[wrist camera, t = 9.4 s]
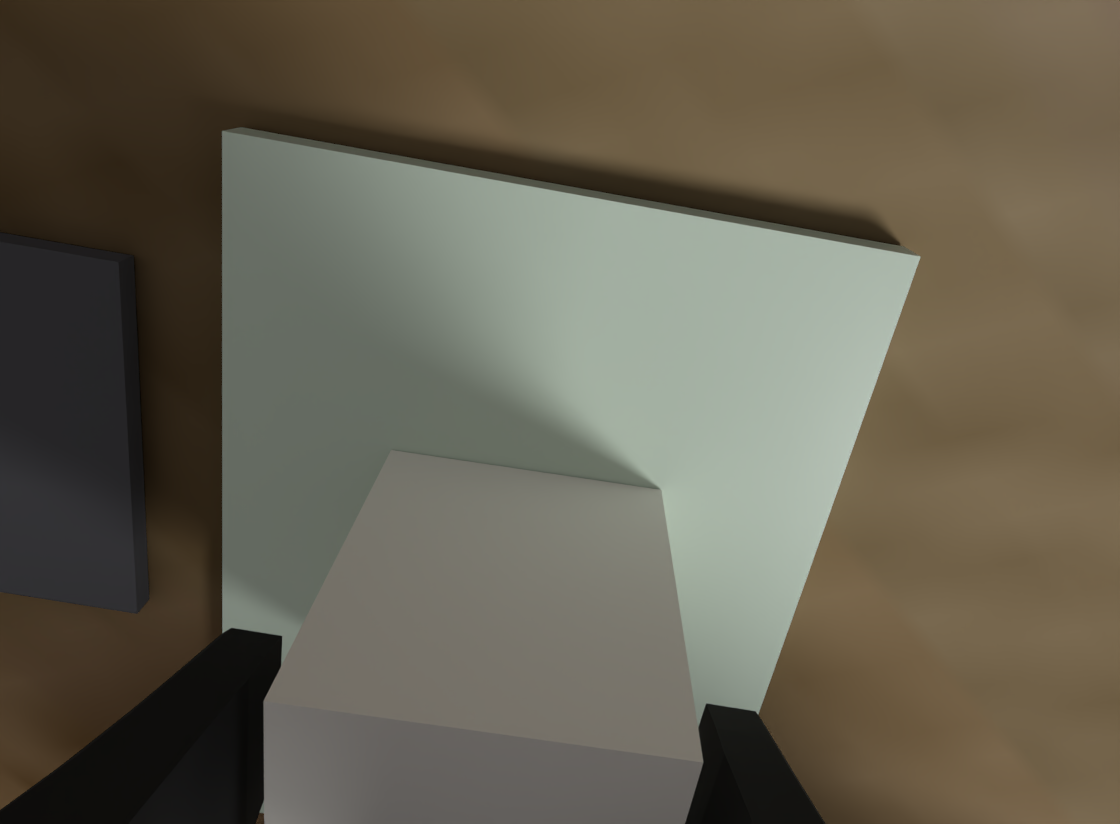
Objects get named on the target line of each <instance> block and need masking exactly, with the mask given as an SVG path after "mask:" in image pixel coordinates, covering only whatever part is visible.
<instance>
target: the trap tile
mask: <svg viewBox="0 0 1120 824" xmlns="http://www.w3.org/2000/svg"><path fill="white" fill-rule="evenodd" d="M0 592H4V593H10V594H16V595H23V596H29V597H35V598H42V599H48V600H54V601H60V602H67V603H73V604H79V605H86V606H92V607H98V608H104V609H111V610H117V611H123V612H130V613H136V614H137V613H138V612H139V611H140V610H141V609H142V607H143V606H144V605H145V604H146V602H147V601H148V600H149V581H148V559H147V537H146V515H145V493H144V471H143V449H142V427H141V405H140V383H139V361H138V339H137V318H136V296H135V274H134V256H133V255H127V254H121V253H116V252H110V251H104V250H98V249H93V248H87V247H81V246H75V245H70V244H64V243H58V242H52V241H47V240H41V239H35V238H29V237H24V236H18V235H12V234H6V233H1V232H0Z"/></svg>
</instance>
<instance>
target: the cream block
mask: <svg viewBox="0 0 1120 824" xmlns="http://www.w3.org/2000/svg"><path fill="white" fill-rule="evenodd" d="M263 704H264V824H685V822H686V819H687V815H688V812H689V809H690V805H691V802H692V799H693V795H694V792H695V789H696V785H697V782H698V779H699V775H700V772H701V769H702V765H703V757H702V750H701V744H700V737H699V731H698V724H697V718H696V711H695V705H694V698H693V692H692V685H691V679H690V672H689V666H688V659H687V653H686V646H685V640H684V634H683V627H682V621H681V614H680V608H679V601H678V595H677V588H676V582H675V575H674V569H673V562H672V556H671V549H670V543H669V536H668V530H667V523H666V517H665V510H664V504H663V497H662V491H661V490H659V489H652V488H645V487H639V486H632V485H625V484H618V483H612V482H605V481H598V480H591V479H585V478H578V477H571V476H564V475H558V474H551V473H544V472H537V471H530V470H524V469H517V468H510V467H503V466H497V465H490V464H483V463H476V462H470V461H463V460H456V459H449V458H442V457H436V456H429V455H422V454H415V453H409V452H402V451H395V450H391V451H390V453H389V455H388V457H387V459H386V461H385V463H384V465H383V467H382V469H381V471H380V473H379V475H378V477H377V479H376V481H375V483H374V485H373V487H372V489H371V490H370V492H369V494H368V496H367V498H366V500H365V502H364V504H363V506H362V508H361V510H360V512H359V514H358V516H357V518H356V520H355V522H354V524H353V526H352V528H351V530H350V532H349V534H348V536H347V538H346V540H345V542H344V544H343V546H342V548H341V550H340V552H339V553H338V555H337V557H336V559H335V561H334V563H333V565H332V567H331V569H330V571H329V573H328V575H327V577H326V579H325V581H324V583H323V585H322V587H321V589H320V591H319V593H318V595H317V597H316V599H315V601H314V603H313V605H312V607H311V609H310V611H309V613H308V614H307V616H306V618H305V620H304V622H303V624H302V626H301V628H300V630H299V632H298V634H297V636H296V638H295V640H294V642H293V644H292V646H291V648H290V650H289V652H288V654H287V656H286V658H285V660H284V662H283V664H282V666H281V668H280V670H279V672H278V674H277V676H276V677H275V679H274V681H273V683H272V685H271V687H270V689H269V691H268V693H267V695H266V697H265V699H264V701H263Z"/></svg>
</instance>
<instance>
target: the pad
mask: <svg viewBox="0 0 1120 824" xmlns="http://www.w3.org/2000/svg"><path fill="white" fill-rule="evenodd" d="M919 260H920V256H919V255H917V254H916V253H914V252H912V251H911V250H909V249H907V248H906V247H904V246H898V245H893V244H887V243H881V242H876V241H870V240H865V239H859V238H854V237H848V236H843V235H837V234H832V233H826V232H820V231H815V230H809V229H804V228H798V227H793V226H787V225H782V224H776V223H770V222H765V221H759V220H754V219H748V218H743V217H737V216H732V215H726V214H721V213H715V212H709V211H704V210H698V209H693V208H687V207H682V206H676V205H671V204H665V203H660V202H654V201H648V200H643V199H637V198H632V197H626V196H621V195H615V194H610V193H604V192H598V191H593V190H587V189H582V188H576V187H571V186H565V185H560V184H554V183H549V182H543V181H537V180H532V179H526V178H521V177H515V176H510V175H504V174H499V173H493V172H487V171H482V170H476V169H471V168H465V167H460V166H454V165H449V164H443V163H438V162H432V161H426V160H421V159H415V158H410V157H404V156H399V155H393V154H388V153H382V152H376V151H371V150H365V149H360V148H354V147H349V146H343V145H338V144H332V143H327V142H321V141H315V140H310V139H304V138H299V137H293V136H288V135H282V134H277V133H271V132H265V131H260V130H254V129H249V128H243V127H239V128H234V129H229V130H224V131H222V633H224V632H225V631H227V630H229V629H230V628H236V629H242V630H249V631H255V632H261V633H267V634H274V635H280V636H282V656H281V666H282V664H283V662H284V660H285V658H286V656H287V654H288V652H289V650H290V648H291V646H292V644H293V642H294V640H295V638H296V636H297V634H298V632H299V630H300V628H301V626H302V624H303V622H304V620H305V618H306V616H307V614H308V613H309V611H310V609H311V607H312V605H313V603H314V601H315V599H316V597H317V595H318V593H319V591H320V589H321V587H322V585H323V583H324V581H325V579H326V577H327V575H328V573H329V571H330V569H331V567H332V565H333V563H334V561H335V559H336V557H337V555H338V553H339V552H340V550H341V548H342V546H343V544H344V542H345V540H346V538H347V536H348V534H349V532H350V530H351V528H352V526H353V524H354V522H355V520H356V518H357V516H358V514H359V512H360V510H361V508H362V506H363V504H364V502H365V500H366V498H367V496H368V494H369V492H370V490H371V489H372V487H373V485H374V483H375V481H376V479H377V477H378V475H379V473H380V471H381V469H382V467H383V465H384V463H385V461H386V459H387V457H388V455H389V453H390V451H391V450H395V451H402V452H409V453H415V454H422V455H429V456H436V457H442V458H449V459H456V460H463V461H470V462H476V463H483V464H490V465H497V466H503V467H510V468H517V469H524V470H530V471H537V472H544V473H551V474H558V475H564V476H571V477H578V478H585V479H591V480H598V481H605V482H612V483H618V484H625V485H632V486H639V487H645V488H652V489H659V490H661V491H662V497H663V504H664V510H665V517H666V523H667V530H668V536H669V543H670V549H671V556H672V562H673V569H674V575H675V582H676V588H677V595H678V601H679V608H680V614H681V621H682V627H683V634H684V640H685V646H686V653H687V659H688V666H689V672H690V679H691V685H692V692H693V698H694V705H695V711H696V718H697V724H698V727H699V724H700V721H701V718H702V714H703V711H704V708H705V705H706V703H707V704H713V705H720V706H726V707H732V708H739V709H745V710H751V711H756V713H757V714H759V711H760V708H761V705H762V702H763V700H764V697H765V694H766V691H767V688H768V686H769V683H770V680H771V677H772V674H773V671H774V669H775V666H776V663H777V660H778V657H779V655H780V652H781V649H782V646H783V643H784V640H785V638H786V635H787V632H788V629H789V626H790V624H791V621H792V618H793V615H794V612H795V609H796V607H797V604H798V601H799V598H800V595H801V592H802V590H803V587H804V584H805V581H806V578H807V576H808V573H809V570H810V567H811V564H812V561H813V559H814V556H815V553H816V550H817V547H818V545H819V542H820V539H821V536H822V533H823V530H824V528H825V525H826V522H827V519H828V516H829V514H830V511H831V508H832V505H833V502H834V499H835V497H836V494H837V491H838V488H839V485H840V482H841V480H842V477H843V474H844V471H845V468H846V466H847V463H848V460H849V457H850V454H851V451H852V449H853V446H854V443H855V440H856V437H857V435H858V432H859V429H860V426H861V423H862V420H863V418H864V415H865V412H866V409H867V406H868V403H869V401H870V398H871V395H872V392H873V389H874V387H875V384H876V381H877V378H878V375H879V372H880V370H881V367H882V364H883V361H884V358H885V356H886V353H887V350H888V347H889V344H890V341H891V339H892V336H893V333H894V330H895V327H896V325H897V322H898V319H899V316H900V313H901V310H902V308H903V305H904V302H905V299H906V296H907V293H908V291H909V288H910V285H911V282H912V279H913V277H914V274H915V271H916V268H917V265H918V262H919ZM260 813H264V801H263V804H262V807H261V810H260Z"/></svg>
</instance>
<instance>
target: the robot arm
mask: <svg viewBox="0 0 1120 824" xmlns="http://www.w3.org/2000/svg"><path fill="white" fill-rule="evenodd" d="M281 656H282V636H280V635H274V634H267V633H261V632H255V631H249V630H242V629H236V628H230V629H229V630H227V631H225V632H224V633H222V634H221V635H220V636H219V637H217V638H216V639H215V640H214V641H213V642H212V643H210V644H209V645H208V646H207V647H206V648H205V649H203V650H202V651H201V652H200V653H199V654H198V655H196V656H195V657H194V658H193V659H192V660H191V661H189V662H188V663H187V664H186V665H185V666H183V667H182V668H181V669H180V670H179V671H178V672H176V673H175V674H174V675H173V676H172V677H171V678H169V679H168V680H167V681H166V682H165V683H163V684H162V685H161V686H160V687H159V688H157V689H156V690H155V691H154V692H153V693H151V694H150V695H149V696H148V697H147V698H145V699H144V700H143V701H142V702H140V703H139V704H138V705H137V706H136V707H134V708H133V709H132V710H131V711H130V712H128V713H127V714H126V715H124V716H123V717H122V718H121V719H119V720H118V721H117V722H116V723H114V724H113V725H112V726H111V727H109V728H108V729H107V730H106V731H104V732H103V733H102V734H101V735H99V736H98V737H97V738H95V739H94V740H93V741H92V742H90V743H89V744H88V745H87V746H85V747H84V748H83V749H82V750H80V751H79V752H78V753H77V754H75V755H74V756H73V757H71V758H70V759H69V760H68V761H66V762H65V763H64V764H62V765H61V766H60V767H58V768H57V769H56V770H54V771H53V772H52V773H50V774H49V775H48V776H46V777H45V778H43V779H42V780H41V781H39V782H38V783H37V784H35V785H34V786H32V787H31V788H30V789H28V790H27V791H26V792H24V793H23V794H22V795H20V796H19V797H17V798H16V799H15V800H13V801H12V802H11V803H9V804H8V805H6V806H5V807H4V808H2V809H1V810H0V824H255V823H256V820H257V818H258V815H259V812H260V810H261V807H262V804H263V801H264V704H263V701H264V699H265V697H266V695H267V693H268V691H269V689H270V687H271V685H272V683H273V681H274V679H275V677H276V676H277V674H278V672H279V670H280V668H281ZM698 731H699V737H700V744H701V750H702V757H703V765H702V769H701V772H700V775H699V779H698V782H697V785H696V789H695V792H694V795H693V799H692V802H691V805H690V809H689V812H688V815H687V819H686V822H685V824H825V822H824V821H823V819H822V818H821V816H820V814H819V813H818V811H817V810H816V808H815V806H814V805H813V803H812V802H811V800H810V798H809V797H808V795H807V794H806V792H805V790H804V789H803V787H802V786H801V784H800V782H799V781H798V779H797V777H796V776H795V774H794V772H793V771H792V769H791V768H790V766H789V764H788V763H787V761H786V759H785V758H784V756H783V754H782V753H781V751H780V749H779V748H778V746H777V745H776V743H775V741H774V740H773V738H772V736H771V735H770V733H769V731H768V730H767V728H766V726H765V725H764V723H763V722H762V720H761V719H760V717H759V716H758V714H757V713H756V711H751V710H745V709H739V708H732V707H726V706H720V705H713V704H707V703H706V705H705V708H704V711H703V714H702V718H701V721H700V724H699V727H698Z"/></svg>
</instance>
